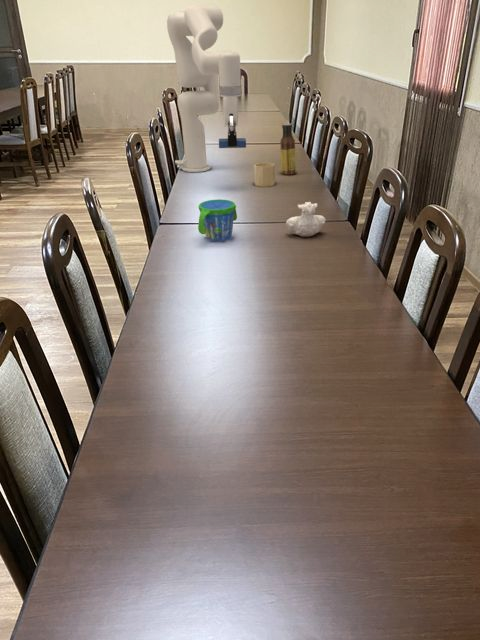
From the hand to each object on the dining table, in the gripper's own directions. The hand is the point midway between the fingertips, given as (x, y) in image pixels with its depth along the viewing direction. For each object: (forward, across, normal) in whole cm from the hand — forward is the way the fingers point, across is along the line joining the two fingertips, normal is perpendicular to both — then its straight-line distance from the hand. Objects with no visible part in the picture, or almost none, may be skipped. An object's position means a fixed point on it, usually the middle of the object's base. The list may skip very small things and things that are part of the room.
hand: (232, 144), depth 201 cm
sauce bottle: (+17, -23, +23) cm, 37 cm away
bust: (+16, +58, +21) cm, 63 cm away
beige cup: (+17, -6, +12) cm, 22 cm away
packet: (+1, 0, 0) cm, 1 cm away
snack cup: (+16, +58, -5) cm, 60 cm away
